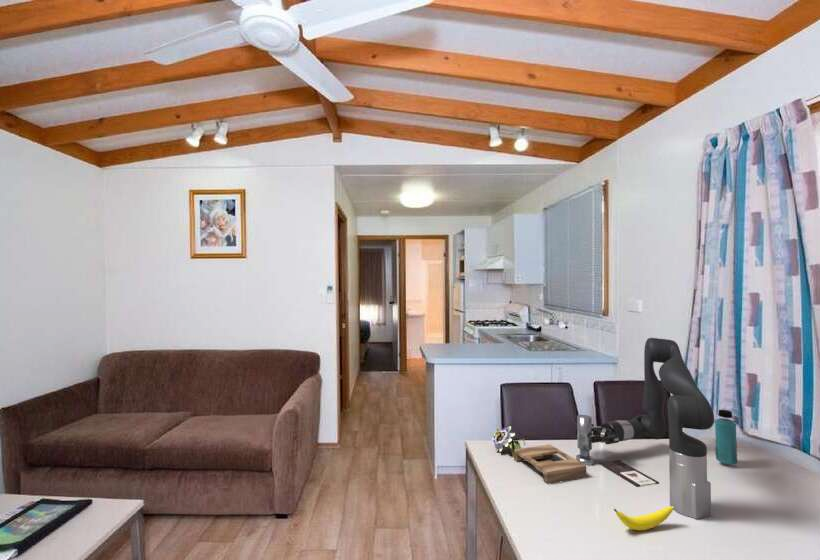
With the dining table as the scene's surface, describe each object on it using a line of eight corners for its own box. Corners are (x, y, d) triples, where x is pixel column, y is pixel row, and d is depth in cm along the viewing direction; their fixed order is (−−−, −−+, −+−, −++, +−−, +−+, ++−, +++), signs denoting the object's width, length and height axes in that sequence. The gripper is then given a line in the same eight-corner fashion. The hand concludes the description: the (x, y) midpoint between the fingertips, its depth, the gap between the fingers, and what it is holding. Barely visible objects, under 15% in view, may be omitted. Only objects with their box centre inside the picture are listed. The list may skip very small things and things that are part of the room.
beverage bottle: (742, 469, 147) (741, 413, 148) (723, 468, 148) (722, 413, 148) (728, 461, 154) (727, 408, 154) (710, 461, 154) (710, 407, 154)
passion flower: (498, 465, 163) (484, 436, 169) (519, 456, 167) (505, 427, 173) (510, 459, 154) (495, 428, 160) (532, 449, 158) (517, 419, 164)
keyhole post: (597, 464, 151) (596, 418, 151) (583, 466, 149) (583, 420, 150) (585, 458, 157) (585, 413, 157) (572, 460, 155) (572, 415, 155)
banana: (678, 527, 112) (678, 504, 112) (618, 536, 108) (618, 512, 108) (670, 521, 115) (669, 498, 115) (610, 530, 111) (610, 506, 111)
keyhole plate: (586, 477, 141) (586, 465, 141) (547, 484, 136) (547, 472, 136) (549, 454, 160) (549, 444, 160) (514, 460, 155) (514, 449, 155)
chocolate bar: (619, 460, 154) (659, 482, 137) (619, 462, 154) (659, 485, 137) (598, 462, 152) (636, 485, 134) (598, 464, 152) (636, 488, 134)
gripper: (603, 415, 165) (569, 419, 160) (632, 427, 151) (596, 432, 146) (603, 434, 165) (570, 439, 160) (632, 447, 151) (597, 453, 146)
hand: (582, 435), depth 153 cm, fingers open, 8 cm apart
